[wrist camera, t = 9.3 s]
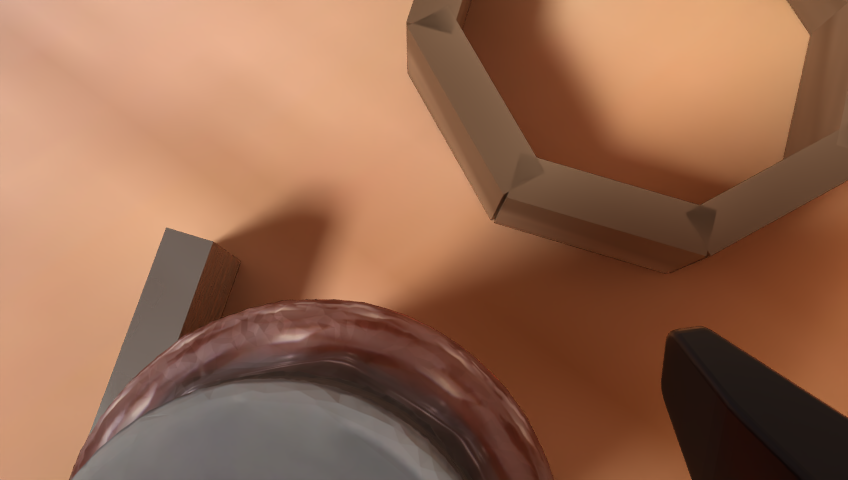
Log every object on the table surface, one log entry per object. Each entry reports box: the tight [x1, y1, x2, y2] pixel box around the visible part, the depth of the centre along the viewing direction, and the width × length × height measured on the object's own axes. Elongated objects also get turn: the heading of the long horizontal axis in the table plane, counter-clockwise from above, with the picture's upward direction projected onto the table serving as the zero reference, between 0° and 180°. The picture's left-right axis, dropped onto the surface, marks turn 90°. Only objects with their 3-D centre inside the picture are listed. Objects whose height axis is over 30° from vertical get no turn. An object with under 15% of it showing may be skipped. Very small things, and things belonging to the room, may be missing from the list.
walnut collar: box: [407, 0, 848, 273], centre depth 18 cm, size 10×10×2 cm
